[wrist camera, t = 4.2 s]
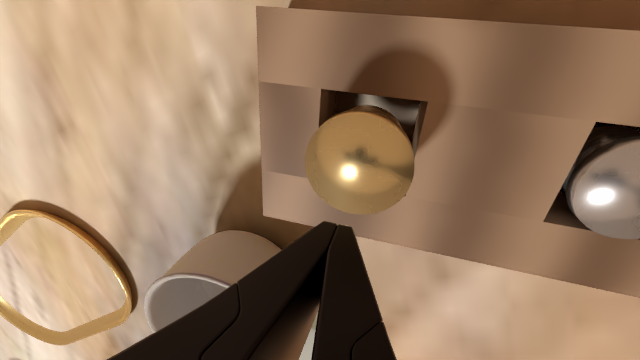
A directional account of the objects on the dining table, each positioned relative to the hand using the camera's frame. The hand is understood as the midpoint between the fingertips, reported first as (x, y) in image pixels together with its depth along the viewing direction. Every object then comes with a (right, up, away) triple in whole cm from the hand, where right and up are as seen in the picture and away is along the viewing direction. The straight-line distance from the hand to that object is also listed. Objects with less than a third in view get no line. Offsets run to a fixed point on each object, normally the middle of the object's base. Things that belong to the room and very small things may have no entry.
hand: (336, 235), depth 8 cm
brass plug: (+2, +4, +7) cm, 8 cm away
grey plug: (+14, +3, +7) cm, 16 cm away
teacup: (-6, -7, +20) cm, 22 cm away
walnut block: (+9, +4, +9) cm, 13 cm away
